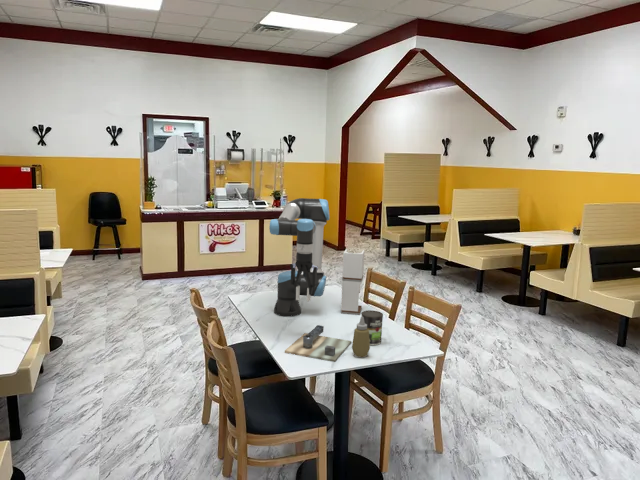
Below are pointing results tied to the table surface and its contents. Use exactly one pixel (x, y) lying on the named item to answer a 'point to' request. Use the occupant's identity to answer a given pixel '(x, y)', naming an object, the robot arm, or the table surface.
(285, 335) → the table surface
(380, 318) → the coffee can
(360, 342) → the squeeze bottle
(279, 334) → the table surface
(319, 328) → the latch bar
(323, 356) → the plate
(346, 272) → the white square tower
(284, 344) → the table surface
